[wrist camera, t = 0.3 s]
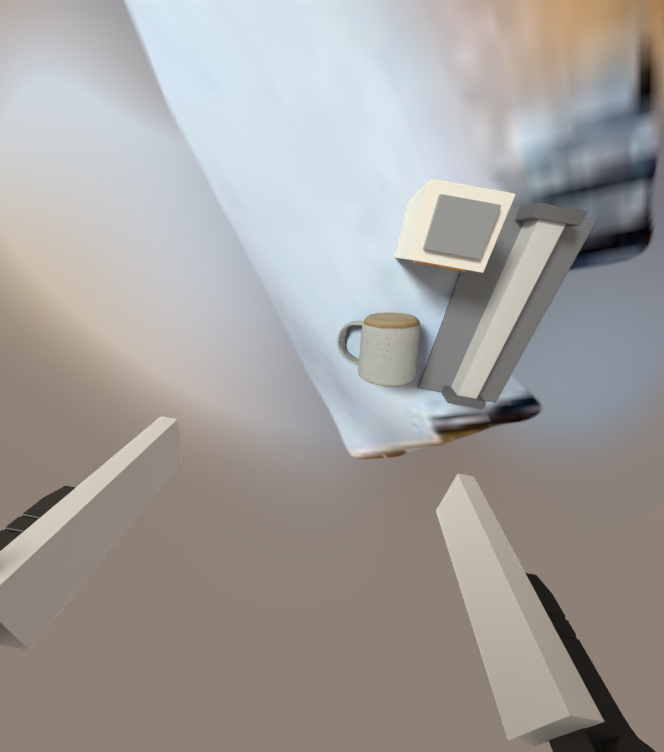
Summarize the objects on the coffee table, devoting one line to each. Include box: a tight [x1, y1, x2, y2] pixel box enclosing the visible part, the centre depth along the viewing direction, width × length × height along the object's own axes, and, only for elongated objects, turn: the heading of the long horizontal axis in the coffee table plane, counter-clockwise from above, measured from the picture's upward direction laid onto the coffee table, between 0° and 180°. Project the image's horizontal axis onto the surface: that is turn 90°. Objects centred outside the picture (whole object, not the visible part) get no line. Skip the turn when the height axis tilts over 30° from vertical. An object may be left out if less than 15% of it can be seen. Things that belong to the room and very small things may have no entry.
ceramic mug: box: [337, 313, 420, 386], centre depth 32 cm, size 11×8×8 cm
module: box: [395, 179, 515, 273], centre depth 25 cm, size 6×7×10 cm
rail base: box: [418, 203, 596, 409], centre depth 31 cm, size 24×12×4 cm, turn 171°
